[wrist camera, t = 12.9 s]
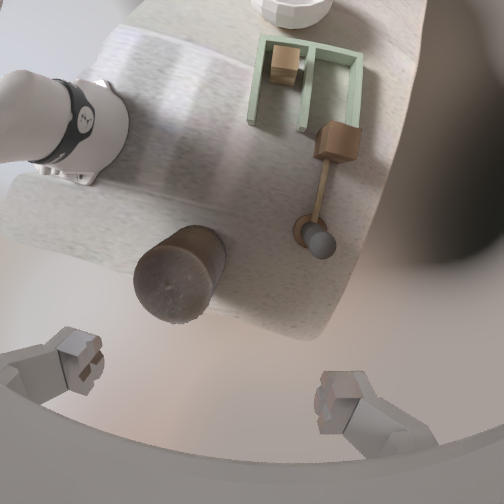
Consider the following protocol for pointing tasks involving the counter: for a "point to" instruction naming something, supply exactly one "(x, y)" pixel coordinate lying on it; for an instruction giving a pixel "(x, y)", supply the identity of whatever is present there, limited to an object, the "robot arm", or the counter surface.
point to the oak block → (284, 65)
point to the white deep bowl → (292, 12)
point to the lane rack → (310, 75)
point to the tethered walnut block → (330, 150)
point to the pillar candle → (180, 274)
